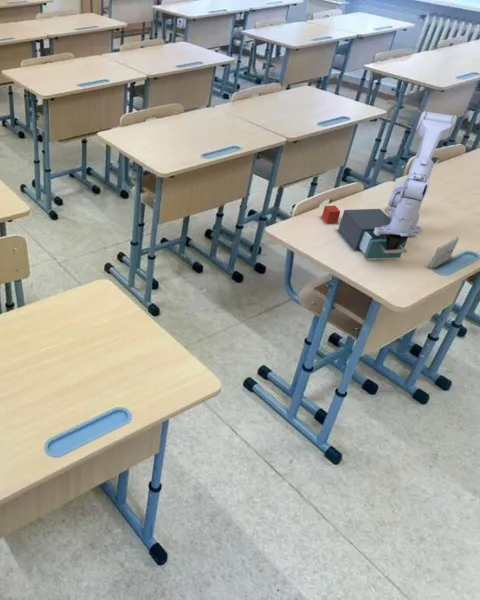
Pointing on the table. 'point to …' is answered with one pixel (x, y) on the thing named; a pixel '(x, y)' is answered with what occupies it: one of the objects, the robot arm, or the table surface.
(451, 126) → the robot arm
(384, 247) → the teal drawer
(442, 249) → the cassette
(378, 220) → the grey drawer cabinet
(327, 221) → the red block
